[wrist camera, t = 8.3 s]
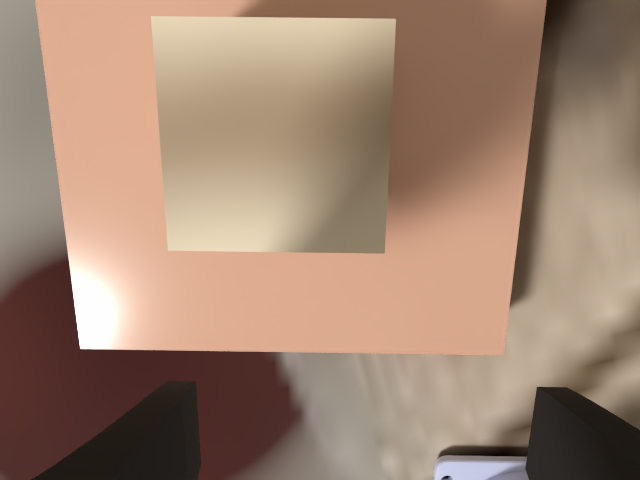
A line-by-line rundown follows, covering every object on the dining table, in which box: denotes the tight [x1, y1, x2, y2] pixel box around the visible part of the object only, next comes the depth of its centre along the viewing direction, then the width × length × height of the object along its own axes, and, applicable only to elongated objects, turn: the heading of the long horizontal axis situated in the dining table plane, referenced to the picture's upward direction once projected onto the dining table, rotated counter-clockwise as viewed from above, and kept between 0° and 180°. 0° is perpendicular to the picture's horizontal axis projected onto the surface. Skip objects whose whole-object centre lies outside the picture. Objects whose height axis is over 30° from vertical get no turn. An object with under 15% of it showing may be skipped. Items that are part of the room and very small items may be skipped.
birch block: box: [151, 16, 396, 254], centre depth 13 cm, size 5×5×5 cm
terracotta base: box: [35, 0, 547, 355], centre depth 17 cm, size 15×15×2 cm
